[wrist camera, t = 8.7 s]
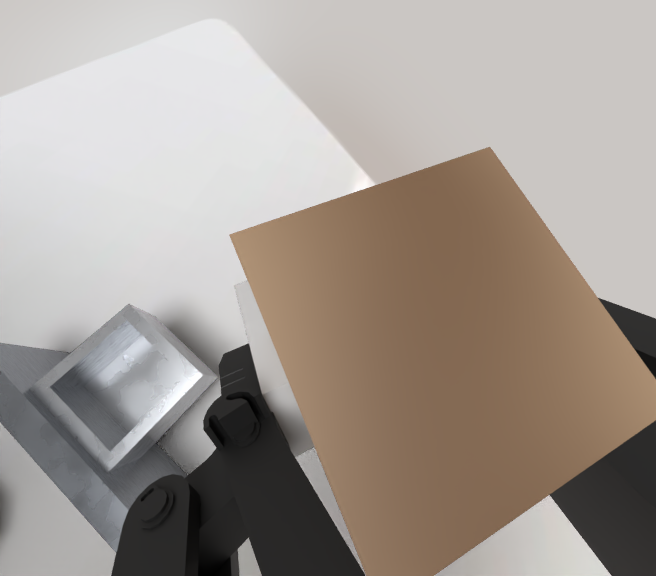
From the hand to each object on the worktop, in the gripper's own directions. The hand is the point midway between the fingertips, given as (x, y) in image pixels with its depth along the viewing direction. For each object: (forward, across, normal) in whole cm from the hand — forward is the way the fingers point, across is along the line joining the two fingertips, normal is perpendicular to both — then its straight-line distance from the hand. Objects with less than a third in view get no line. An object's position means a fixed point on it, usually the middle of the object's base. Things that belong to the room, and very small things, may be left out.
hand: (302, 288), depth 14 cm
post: (+1, 0, -6) cm, 6 cm away
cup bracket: (+17, -14, -14) cm, 27 cm away
